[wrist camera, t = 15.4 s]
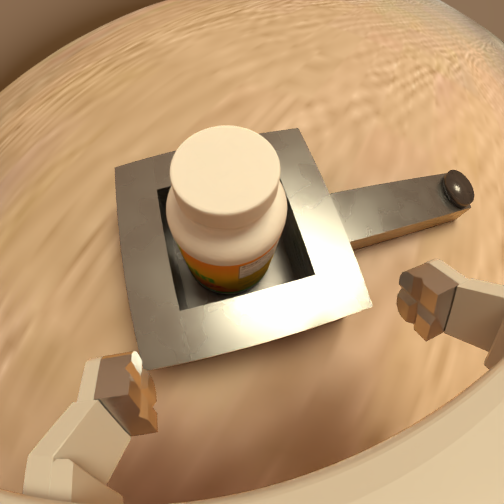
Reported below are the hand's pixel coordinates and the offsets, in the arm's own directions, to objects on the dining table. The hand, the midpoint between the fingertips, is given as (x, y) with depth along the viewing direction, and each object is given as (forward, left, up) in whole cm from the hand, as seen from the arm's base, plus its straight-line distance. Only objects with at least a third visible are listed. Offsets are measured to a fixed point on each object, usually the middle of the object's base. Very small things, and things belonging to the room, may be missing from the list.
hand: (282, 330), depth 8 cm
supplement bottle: (0, +6, -10) cm, 12 cm away
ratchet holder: (+7, +6, -10) cm, 14 cm away
